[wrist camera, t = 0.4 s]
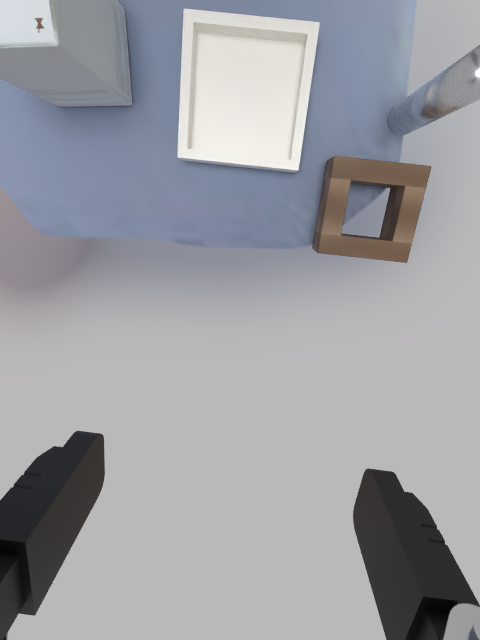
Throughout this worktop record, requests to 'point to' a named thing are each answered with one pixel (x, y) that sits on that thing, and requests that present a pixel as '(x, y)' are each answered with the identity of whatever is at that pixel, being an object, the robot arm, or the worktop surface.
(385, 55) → the worktop surface
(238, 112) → the tray
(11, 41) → the supplement box
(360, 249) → the bore block
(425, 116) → the cylinder
